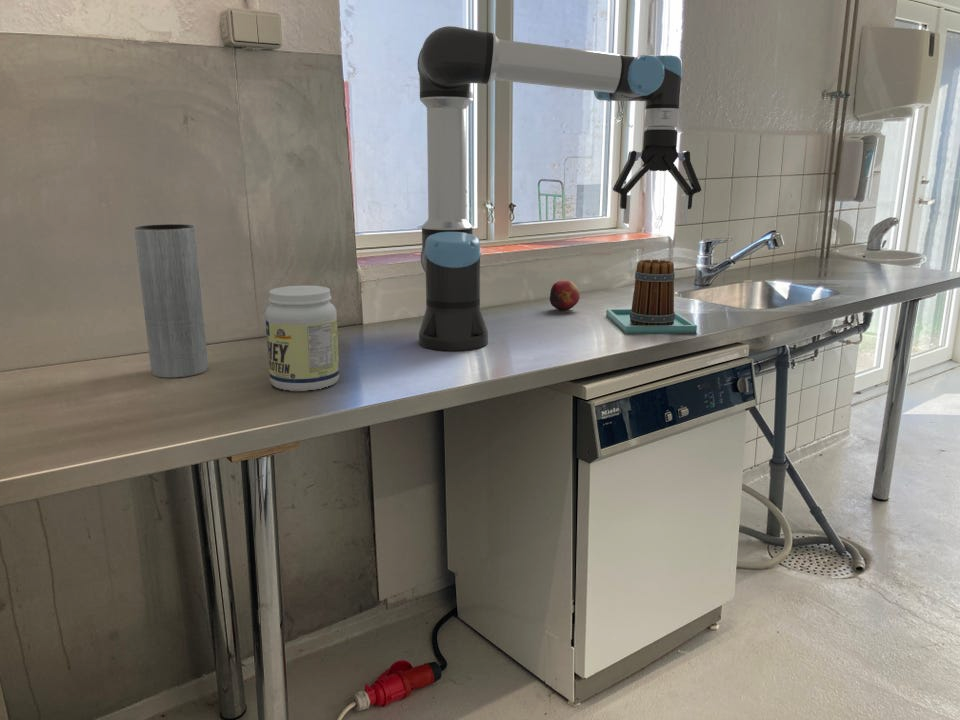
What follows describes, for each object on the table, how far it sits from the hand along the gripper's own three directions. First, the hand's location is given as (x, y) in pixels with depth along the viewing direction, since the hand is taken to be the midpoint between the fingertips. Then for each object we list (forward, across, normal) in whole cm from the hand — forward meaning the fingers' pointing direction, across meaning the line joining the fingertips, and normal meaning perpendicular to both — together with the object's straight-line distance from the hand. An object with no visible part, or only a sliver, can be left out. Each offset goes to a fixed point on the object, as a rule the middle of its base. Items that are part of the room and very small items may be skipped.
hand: (654, 223), depth 174 cm
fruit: (+25, -18, +18) cm, 35 cm away
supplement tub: (+25, -75, -46) cm, 91 cm away
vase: (+25, -100, -37) cm, 109 cm away
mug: (+24, +1, 0) cm, 24 cm away
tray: (+24, 0, 0) cm, 24 cm away
